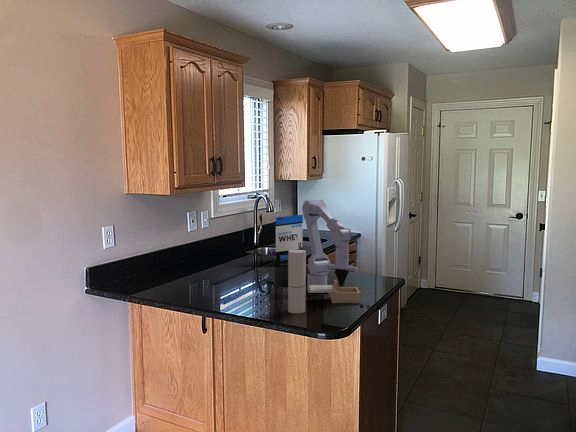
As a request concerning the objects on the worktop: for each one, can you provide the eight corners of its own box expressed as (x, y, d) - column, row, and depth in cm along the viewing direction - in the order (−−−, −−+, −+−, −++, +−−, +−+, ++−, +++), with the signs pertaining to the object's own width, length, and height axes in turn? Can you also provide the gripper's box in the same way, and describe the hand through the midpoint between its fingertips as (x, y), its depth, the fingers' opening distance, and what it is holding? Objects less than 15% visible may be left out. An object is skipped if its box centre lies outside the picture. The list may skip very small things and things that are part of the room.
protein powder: (270, 266, 290) (270, 216, 287) (296, 260, 307) (297, 214, 304) (281, 268, 283) (281, 217, 280) (308, 262, 301) (308, 215, 298)
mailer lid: (310, 292, 208) (310, 285, 207) (309, 286, 218) (309, 279, 218) (339, 292, 208) (339, 285, 207) (336, 286, 218) (336, 279, 218)
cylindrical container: (304, 308, 202) (305, 249, 199) (305, 313, 195) (306, 252, 192) (287, 308, 202) (288, 249, 199) (288, 313, 195) (288, 252, 192)
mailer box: (332, 304, 208) (332, 292, 208) (330, 297, 218) (330, 287, 218) (360, 304, 209) (360, 292, 208) (356, 297, 219) (356, 287, 218)
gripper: (360, 256, 211) (360, 286, 213) (330, 253, 219) (330, 282, 220) (354, 258, 205) (354, 289, 207) (324, 255, 212) (323, 285, 214)
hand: (341, 286), depth 213 cm, fingers closed
